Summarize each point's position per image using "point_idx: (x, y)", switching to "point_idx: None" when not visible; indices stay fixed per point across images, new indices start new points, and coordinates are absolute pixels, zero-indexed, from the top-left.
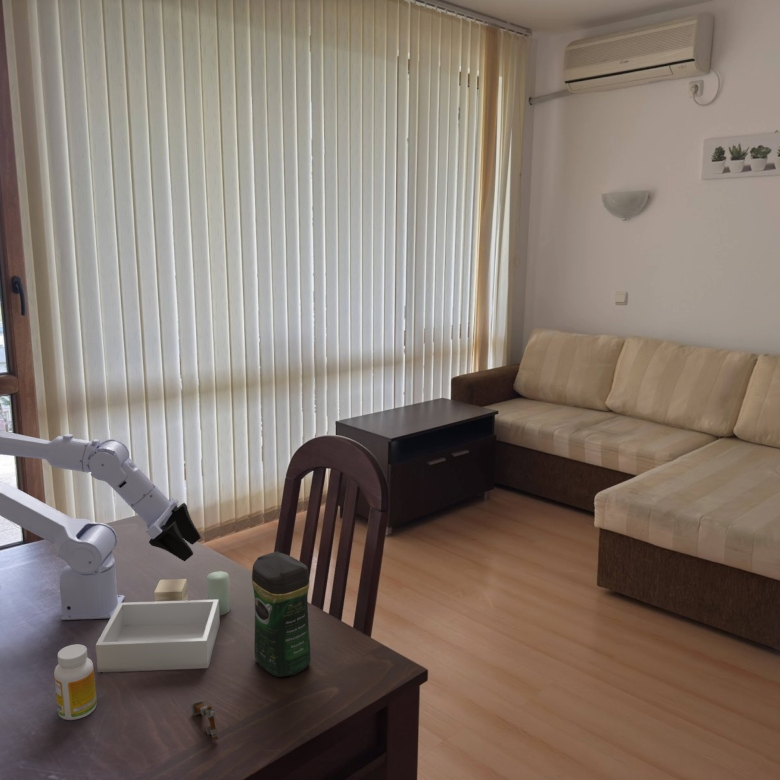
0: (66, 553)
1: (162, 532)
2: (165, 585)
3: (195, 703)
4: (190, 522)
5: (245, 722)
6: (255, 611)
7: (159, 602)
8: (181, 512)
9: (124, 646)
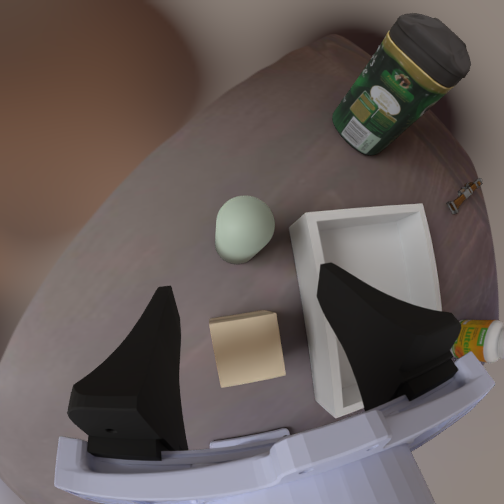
0: None
1: (448, 360)
2: (249, 364)
3: (456, 208)
4: (156, 334)
5: (444, 163)
6: (422, 113)
7: (331, 341)
8: (151, 400)
9: None
